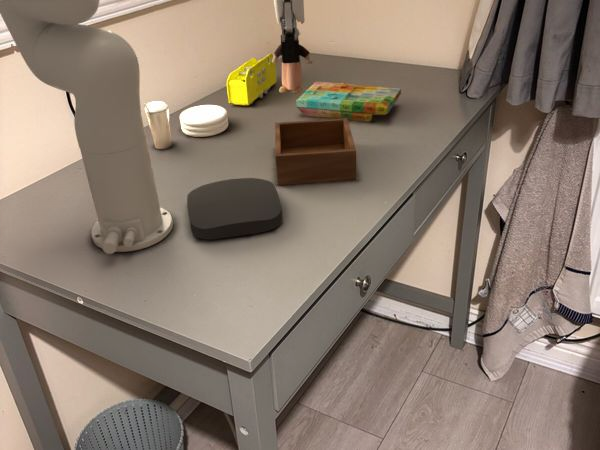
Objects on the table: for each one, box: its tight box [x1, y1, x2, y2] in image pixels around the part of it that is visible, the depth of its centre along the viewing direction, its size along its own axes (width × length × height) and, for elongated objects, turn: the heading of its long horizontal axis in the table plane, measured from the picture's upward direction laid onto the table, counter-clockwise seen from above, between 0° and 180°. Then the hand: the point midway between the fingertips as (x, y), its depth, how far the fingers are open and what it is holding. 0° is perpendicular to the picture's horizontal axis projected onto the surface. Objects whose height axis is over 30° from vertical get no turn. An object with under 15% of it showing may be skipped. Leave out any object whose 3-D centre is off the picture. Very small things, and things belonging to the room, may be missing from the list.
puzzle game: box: [295, 81, 402, 122], centre depth 138 cm, size 12×5×20 cm
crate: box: [274, 118, 357, 186], centre depth 116 cm, size 15×14×6 cm
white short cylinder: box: [179, 104, 229, 138], centre depth 134 cm, size 10×10×4 cm
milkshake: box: [143, 100, 172, 150], centre depth 126 cm, size 4×5×10 cm
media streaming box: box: [186, 177, 284, 240], centre depth 103 cm, size 15×15×3 cm
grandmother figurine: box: [272, 27, 314, 94], centre depth 118 cm, size 8×4×13 cm, turn 85°
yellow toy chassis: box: [225, 53, 277, 106], centre depth 148 cm, size 16×6×8 cm, turn 158°
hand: (290, 58), depth 118 cm, fingers closed on grandmother figurine, 3 cm apart
